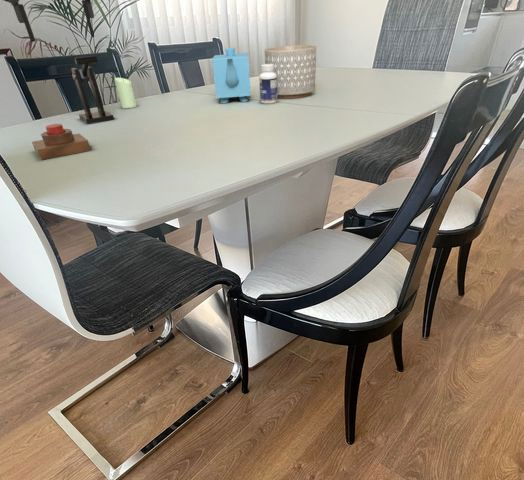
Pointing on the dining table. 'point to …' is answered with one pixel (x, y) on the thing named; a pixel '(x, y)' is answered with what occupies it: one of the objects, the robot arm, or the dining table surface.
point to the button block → (60, 144)
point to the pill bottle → (268, 84)
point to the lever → (85, 66)
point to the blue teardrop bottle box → (231, 75)
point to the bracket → (88, 116)
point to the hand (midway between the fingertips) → (63, 39)
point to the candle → (125, 93)
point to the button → (54, 129)
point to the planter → (293, 69)
